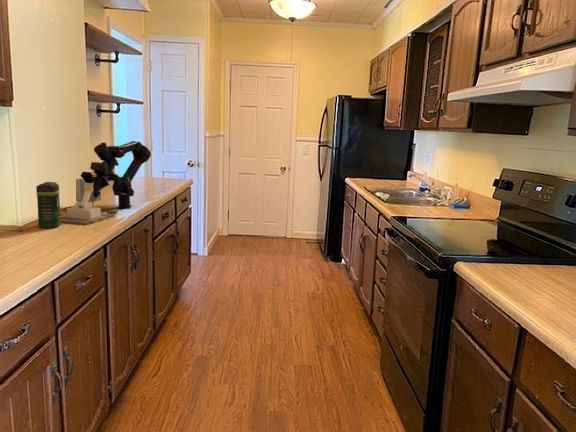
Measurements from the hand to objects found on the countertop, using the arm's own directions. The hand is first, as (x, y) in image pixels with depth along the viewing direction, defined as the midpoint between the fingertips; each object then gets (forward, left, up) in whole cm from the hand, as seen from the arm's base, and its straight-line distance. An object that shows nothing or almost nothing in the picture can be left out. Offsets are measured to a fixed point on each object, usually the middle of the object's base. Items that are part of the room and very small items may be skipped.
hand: (94, 192), depth 209 cm
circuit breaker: (-21, -10, -11) cm, 25 cm away
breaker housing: (+7, -3, -11) cm, 14 cm away
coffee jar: (+22, -12, -11) cm, 28 cm away
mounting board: (+7, -3, -11) cm, 14 cm away
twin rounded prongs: (-6, +2, -11) cm, 13 cm away
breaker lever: (+7, -3, -5) cm, 9 cm away
